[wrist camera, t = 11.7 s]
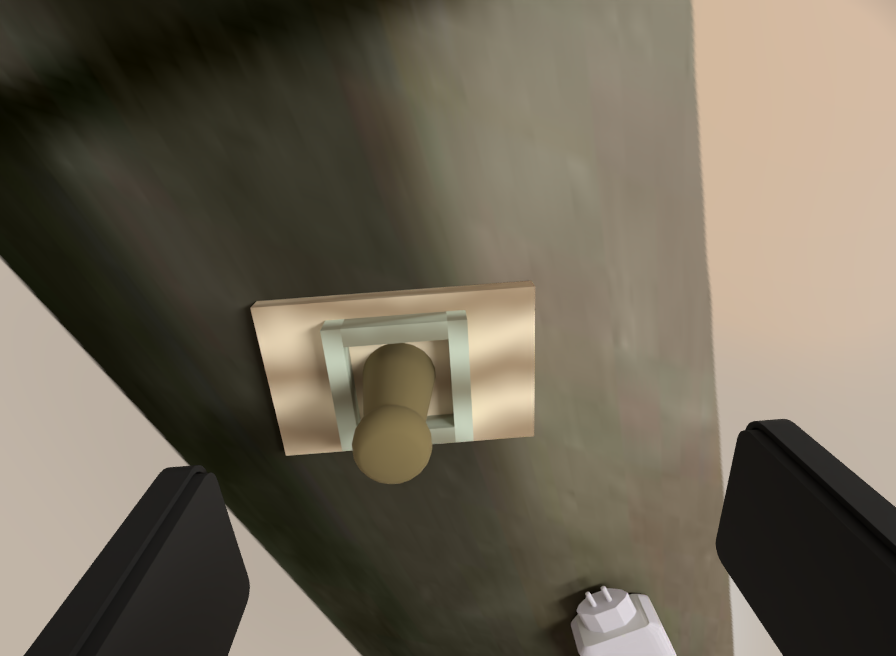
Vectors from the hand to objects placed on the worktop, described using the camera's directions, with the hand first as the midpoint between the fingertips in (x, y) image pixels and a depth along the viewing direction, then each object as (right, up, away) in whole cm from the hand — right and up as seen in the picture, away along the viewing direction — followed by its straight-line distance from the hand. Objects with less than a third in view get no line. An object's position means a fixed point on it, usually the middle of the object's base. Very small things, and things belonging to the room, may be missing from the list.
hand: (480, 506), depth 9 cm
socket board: (-4, 0, +33) cm, 33 cm away
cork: (-5, -1, +32) cm, 32 cm away
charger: (+18, -29, +47) cm, 58 cm away
